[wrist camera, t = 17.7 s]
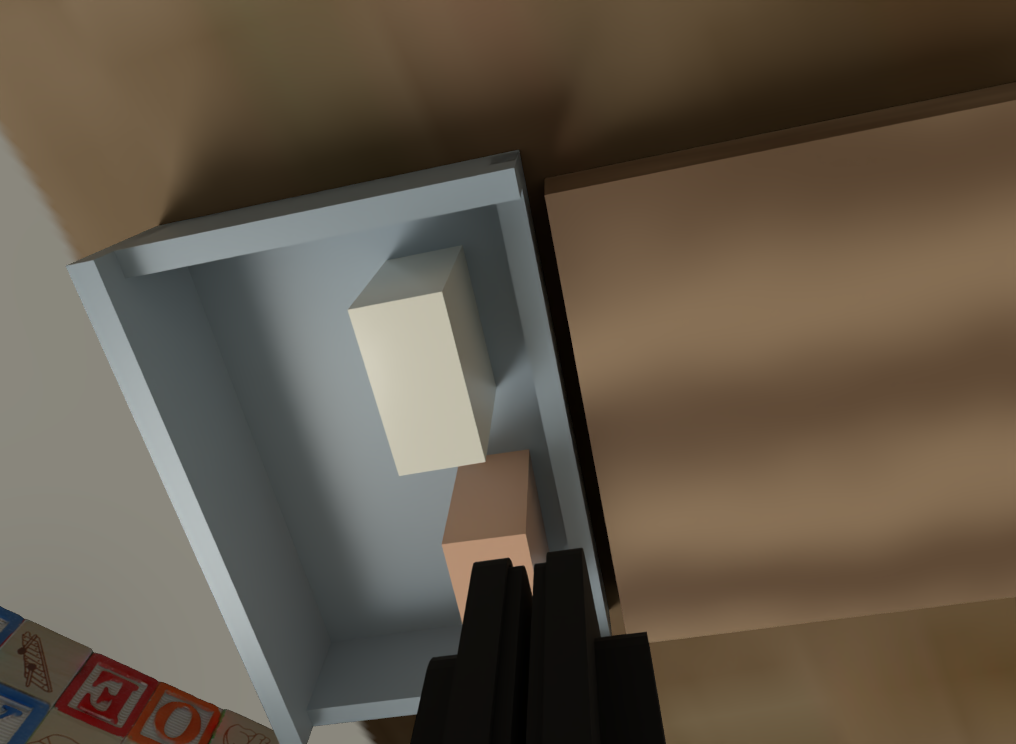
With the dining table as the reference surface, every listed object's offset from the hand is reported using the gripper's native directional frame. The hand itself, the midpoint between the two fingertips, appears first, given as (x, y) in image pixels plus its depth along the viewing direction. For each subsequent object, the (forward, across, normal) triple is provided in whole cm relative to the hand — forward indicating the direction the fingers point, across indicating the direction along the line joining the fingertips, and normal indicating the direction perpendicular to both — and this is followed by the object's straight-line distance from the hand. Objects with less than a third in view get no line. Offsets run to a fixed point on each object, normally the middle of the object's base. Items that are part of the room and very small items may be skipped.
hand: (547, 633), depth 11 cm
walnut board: (+15, -8, +3) cm, 17 cm away
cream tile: (+12, +2, -1) cm, 12 cm away
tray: (+15, +6, +3) cm, 16 cm away
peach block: (+12, +2, +7) cm, 14 cm away
